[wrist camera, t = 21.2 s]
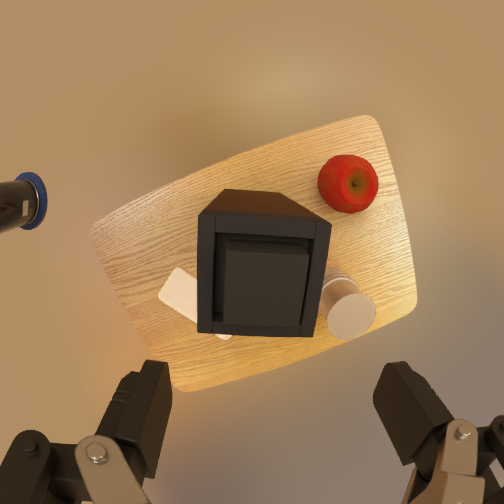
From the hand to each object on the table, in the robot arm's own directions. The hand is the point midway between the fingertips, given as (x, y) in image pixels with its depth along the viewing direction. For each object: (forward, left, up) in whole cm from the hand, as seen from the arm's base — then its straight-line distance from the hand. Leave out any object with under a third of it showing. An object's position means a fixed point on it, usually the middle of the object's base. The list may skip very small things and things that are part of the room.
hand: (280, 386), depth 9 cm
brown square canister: (0, 0, -36) cm, 36 cm away
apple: (+13, +7, -37) cm, 40 cm away
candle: (+13, -9, -37) cm, 40 cm away
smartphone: (-7, -16, -36) cm, 40 cm away
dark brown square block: (0, 0, -12) cm, 12 cm away
